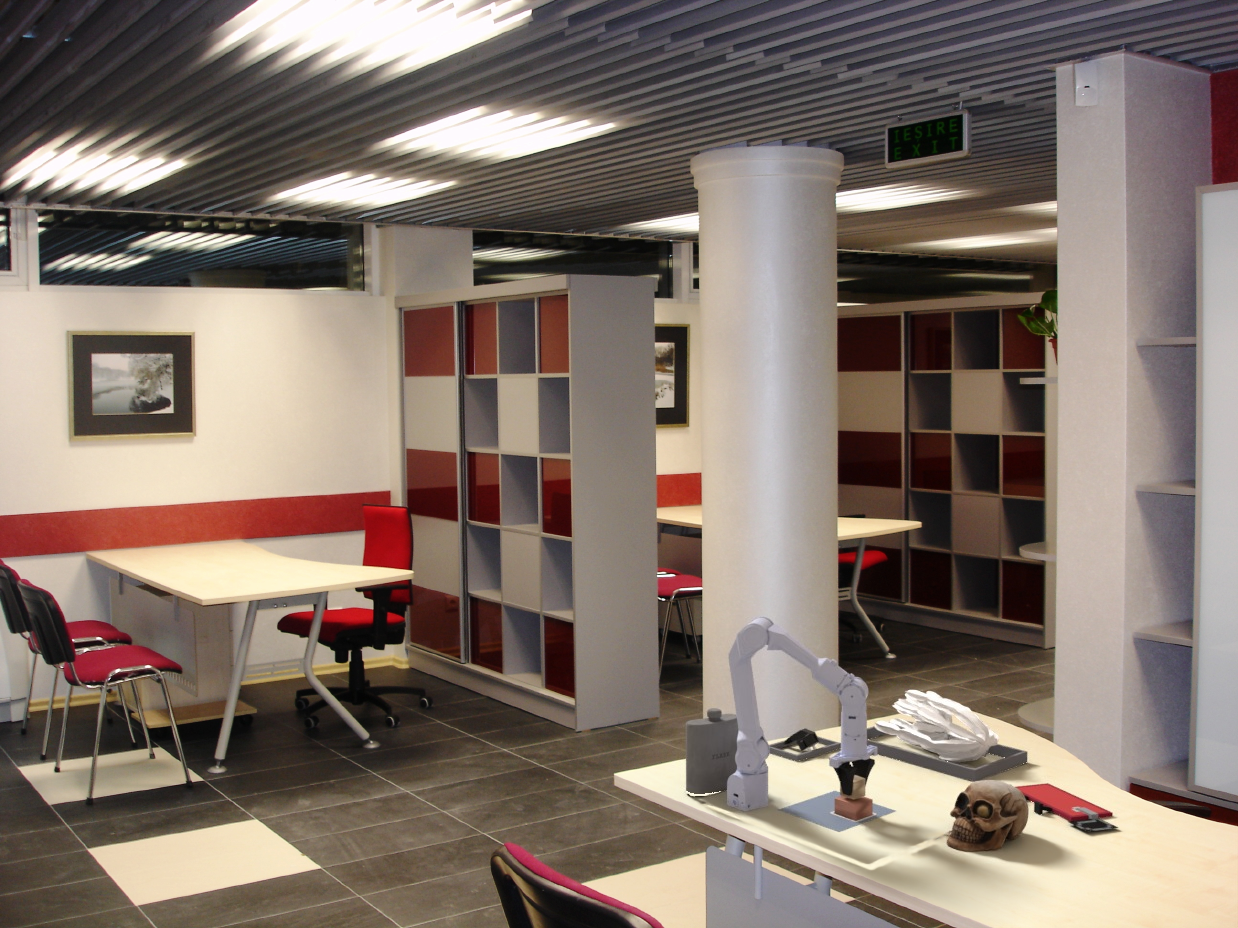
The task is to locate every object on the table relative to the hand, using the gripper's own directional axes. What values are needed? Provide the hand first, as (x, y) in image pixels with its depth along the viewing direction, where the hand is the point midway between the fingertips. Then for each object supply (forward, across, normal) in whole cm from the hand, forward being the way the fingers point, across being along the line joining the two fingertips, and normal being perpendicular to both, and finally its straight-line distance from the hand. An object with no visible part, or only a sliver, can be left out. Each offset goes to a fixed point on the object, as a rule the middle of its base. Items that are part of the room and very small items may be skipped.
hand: (853, 792), depth 264 cm
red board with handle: (+7, +41, -27) cm, 50 cm away
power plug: (+7, +29, +43) cm, 52 cm away
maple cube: (+1, 0, 0) cm, 1 cm away
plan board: (+6, -1, +4) cm, 7 cm away
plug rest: (+6, +30, +42) cm, 52 cm away
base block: (+5, 0, 0) cm, 5 cm away
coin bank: (+6, +12, -26) cm, 30 cm away
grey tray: (+6, +54, +17) cm, 57 cm away
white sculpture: (+6, +55, +17) cm, 58 cm away
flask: (+6, -11, +34) cm, 36 cm away
